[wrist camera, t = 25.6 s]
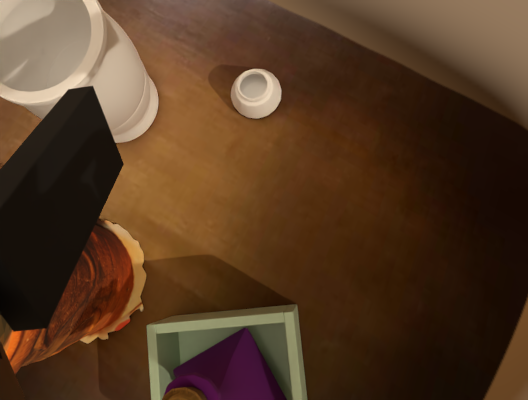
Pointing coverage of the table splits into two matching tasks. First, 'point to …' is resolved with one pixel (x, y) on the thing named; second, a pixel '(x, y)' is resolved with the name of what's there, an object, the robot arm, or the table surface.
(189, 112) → the table surface
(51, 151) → the robot arm
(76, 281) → the vessel
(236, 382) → the perfume bottle
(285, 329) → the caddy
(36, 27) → the jar
